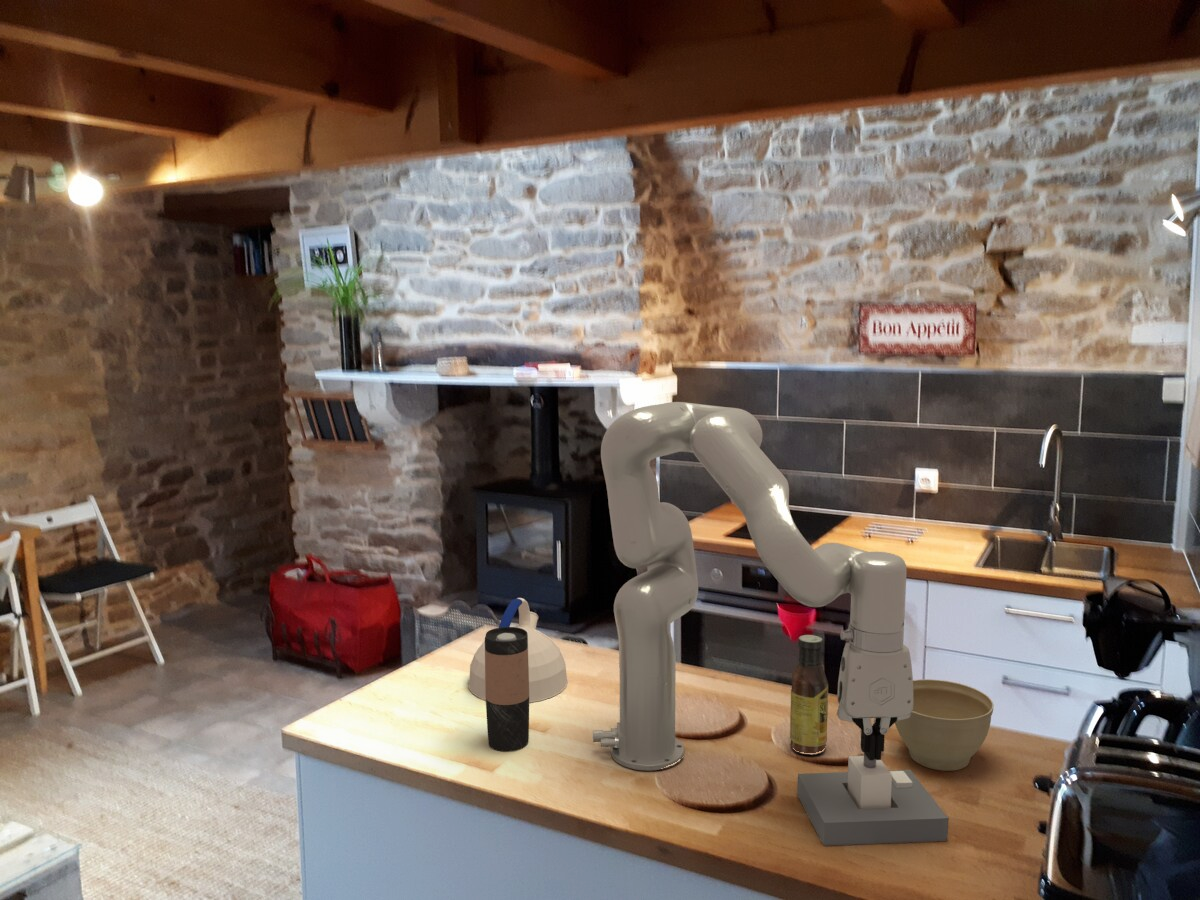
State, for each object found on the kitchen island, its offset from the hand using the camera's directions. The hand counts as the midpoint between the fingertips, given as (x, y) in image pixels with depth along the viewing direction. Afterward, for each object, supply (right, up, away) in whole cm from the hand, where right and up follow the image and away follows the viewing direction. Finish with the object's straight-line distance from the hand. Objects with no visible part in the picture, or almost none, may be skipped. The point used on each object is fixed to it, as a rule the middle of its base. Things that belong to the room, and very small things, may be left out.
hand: (871, 755), depth 137 cm
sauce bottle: (-4, -7, +23) cm, 24 cm away
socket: (0, -10, +1) cm, 10 cm away
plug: (0, -9, +2) cm, 9 cm away
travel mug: (-57, -6, +26) cm, 63 cm away
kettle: (-57, -3, +52) cm, 77 cm away
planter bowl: (+17, -7, +19) cm, 27 cm away
